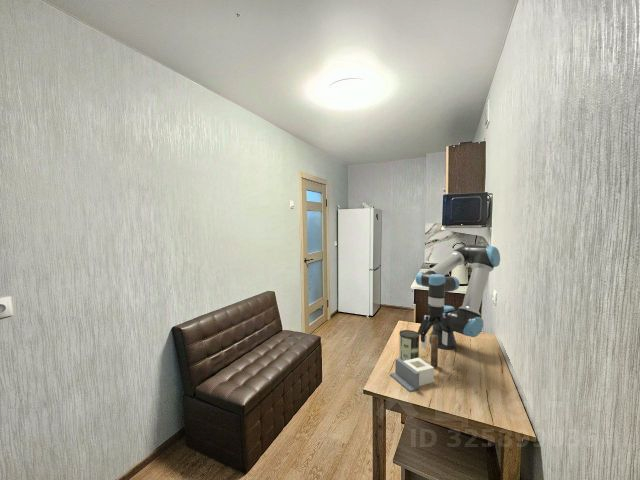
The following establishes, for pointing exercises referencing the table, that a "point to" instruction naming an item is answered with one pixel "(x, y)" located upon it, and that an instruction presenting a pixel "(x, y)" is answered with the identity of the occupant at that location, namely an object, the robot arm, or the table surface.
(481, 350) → the table surface
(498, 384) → the table surface
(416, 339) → the coffee can
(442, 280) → the robot arm
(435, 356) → the dowel
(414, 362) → the block
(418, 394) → the table surface
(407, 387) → the wall
